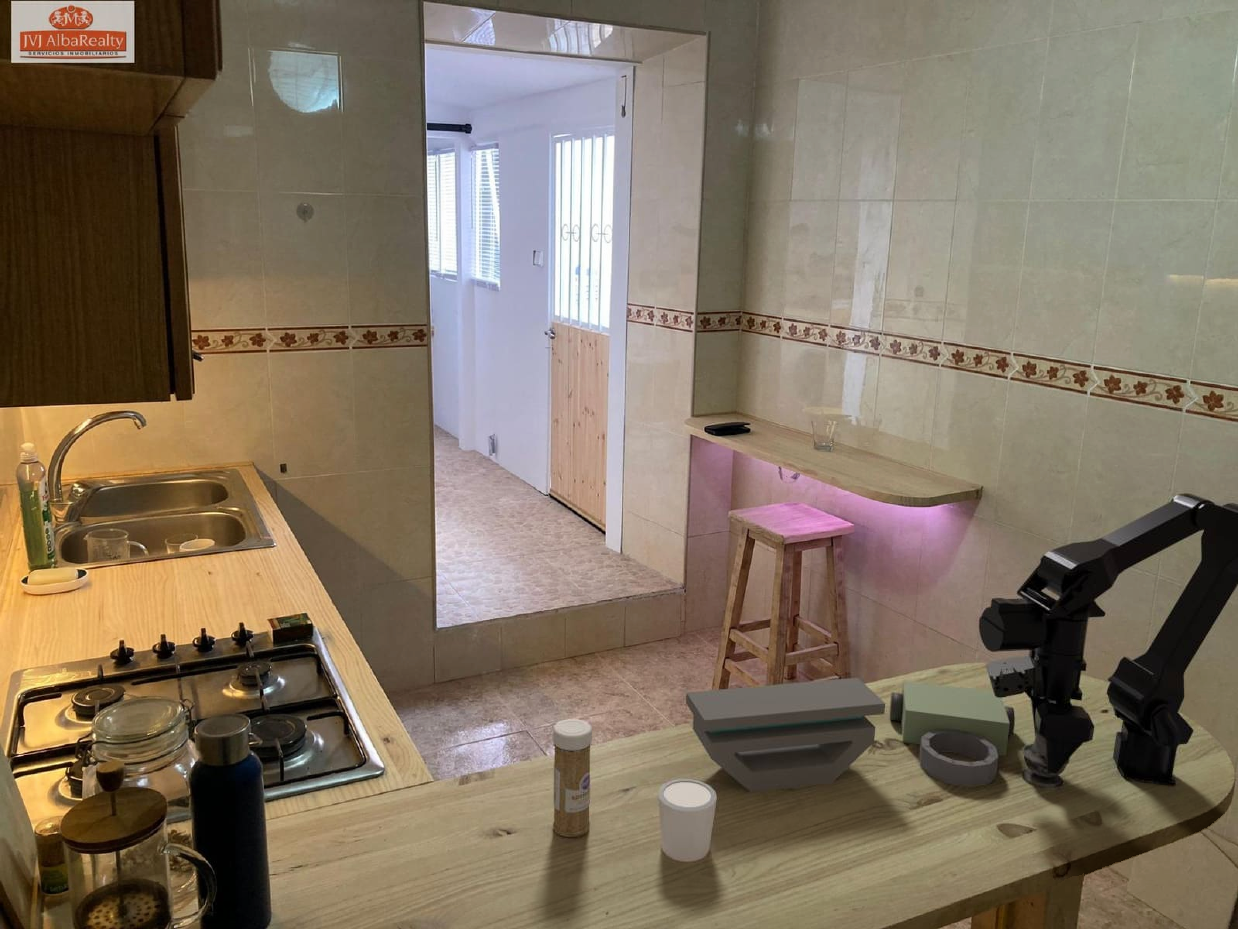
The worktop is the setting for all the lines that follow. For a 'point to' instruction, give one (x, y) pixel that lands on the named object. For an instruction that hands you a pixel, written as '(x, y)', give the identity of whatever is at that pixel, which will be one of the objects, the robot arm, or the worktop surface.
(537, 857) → the worktop surface
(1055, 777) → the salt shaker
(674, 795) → the white cup
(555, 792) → the sprinkles bottle
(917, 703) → the block with end pegs
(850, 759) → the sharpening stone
